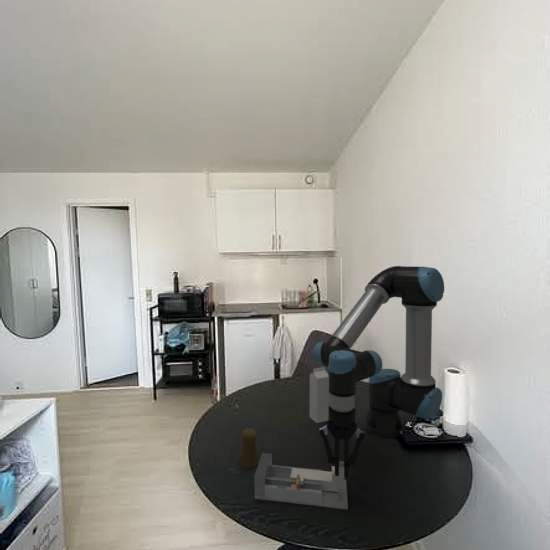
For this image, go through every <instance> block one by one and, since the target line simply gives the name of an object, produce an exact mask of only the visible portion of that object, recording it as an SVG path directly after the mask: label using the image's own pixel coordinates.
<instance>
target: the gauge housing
mask: <svg viewBox="0 0 550 550" xmlns="http://www.w3.org/2000/svg"><path fill="white" fill-rule="evenodd" d="M272 458H273V457H272V453H270V452H268V453H266V452H262V453H261V456H260V458H259V460H258V464H257V466H256V471H255V473H254V499H255V500H261V501H263V500H264V501H271V502H280V503H286V504H287V503H288V504H296V505H306V506H313V507H322V508H323V507H324V508H332V509H339V510H340V509H342V510H348V509H349V505H348V504H349V503H348V489H347V479H345V478H344V489H339V492H332V491H323V490H322V482H312V481H304V483H303V485H300V488H292V487H291V485H292V484H296V482H297V480H293V479H290V477H291V471H292V468H298V469H308V470H318V471H324V470H323V469H318V468H317V469H315V468H306V467H298V466H297V467H296V466H286V465H276V464H272V462H273V461H272Z"/></svg>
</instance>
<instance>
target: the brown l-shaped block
mask: <svg viewBox="0 0 550 550" xmlns="http://www.w3.org/2000/svg"><path fill="white" fill-rule="evenodd" d="M291 487H292V488H300V475H298V474H297V482H296V484H292V485H291Z"/></svg>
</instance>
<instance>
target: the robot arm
mask: <svg viewBox="0 0 550 550" xmlns="http://www.w3.org/2000/svg"><path fill="white" fill-rule="evenodd" d="M444 293H445V282H444V278H443V276H442V274H441V272H440V271H439V269H437V268H435V267H428V266H405V265H403V266H401V265H395V266H394V265H393V266H390V267H388V268H385V269H383V270H381V271H380V272H379V273H377V274H376V275H375V276H373V278H371V280H370V281H369V282H368V283H367V285H366V286H365V287H364V293H363V294H362V295H361V297H360V298H359V300H358V301H357V302H356V303H355V305H354V306H353V308H352V309H351V310H350V311H349V313H348V314H347V315H346V316H345V318H344V319H343V320H342V322H341V323H340V325H339V326H337V328H336V330H334V332H333V333H332V335H331V336H330V337H329V339H328V340H327V341H319V342H317V343H316V344H315V345H314V348H313V350H312V358H313V360H314V362H316V363H317V364H319V365H321V366H322V367H325V368H326V367H327V369H328V375H329V408H328V421H326V425H324V426H320V427H319V431H318V432H319V435H320V436H321V438H322V440H323V445H324V449H325V452H326V456H327V461H328V463H329V464H332V465H334V466H335V476H339V489H344V479H345V478H348V476H349V466H355V465H356V461H357V457H358V454H359V450H360V447H361V443H362V441H363V440H364V438H365V437H366V435H365V430H366V431H367V433H370V434H372V435H373V436H377V437H380V438H381V437H382V438H388V439H389V438H390V439H393V438H397V437H400V436H399V432H400V431H402V430H403V428H404V429H405V424H404V421H403V417H402V415H401V412H400V411H402V412H403V413H407V414H409V415H412V416H415V417H417V418H421V419H424V420H431V419H433V418H435V416H436V415H437V414H438V412H439V410H440V408H441V405H442V403H443V402H442V400H443V392H442V390H441V389H440V388H439V387H436V385H437V384H436V379H435V377H434V376H432V338H433V337H432V330H433V327H432V326H433V324H432V323H433V309H435V308H436V307H437V306H438V302H440V301H442V299H443V297H444ZM392 298H401V305H402V306H403V307H404V308H405V367H404V368H405V372H404V373H402V374H401V372H400V371H399V370H398V369H393V368H383V359H382V358H381V355H380V354H379V353H378V352H377V351H375V350H371V349H370V350H363V351H360V350H355V349H352V347H353V346H354V344H355V343H356V341H357V340H358V338H360V337H361V335H362V333H363V332H364V331H365V329H366V328H367V326H368V325H369V324H370V322H371V321H372V319H374V317H375V315H376V314H377V312H378V311H379V310H380V308H381V307H382V305H385V304H386V303H388V302H389V301H390V299H392ZM366 379H368V408H367V411H366V414H365V417H364V419H363V426H364V427H363V428H364V429H365V430H364V429H360V428H359V427H358V425H357V423H356V396H357V395H356V390H357V389H356V383H359V382H361V381H363V380H366ZM329 432H330V434H331V436H332V438H334V456H333V453H332V452H333V451H332V447H331V445H330V440H329V436H328V434H329ZM354 434H355V439H354V442H353V446H352V449H351V453H350V457H349V447H350V446H349V442H350V441H349V440H350V439H351V438H352V436H353V435H354ZM340 440H343V461H341V460H340Z"/></svg>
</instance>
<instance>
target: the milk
mask: <svg viewBox="0 0 550 550" xmlns="http://www.w3.org/2000/svg"><path fill="white" fill-rule="evenodd" d="M328 408H329V373H328V372H327V370H326V367H325V366H321V367H317V368H313V371H312V372H311V373H310V374H309V418H310V419H311V420H312V421H313V422H315V423H316V424H320V423H324V422H328Z"/></svg>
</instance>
